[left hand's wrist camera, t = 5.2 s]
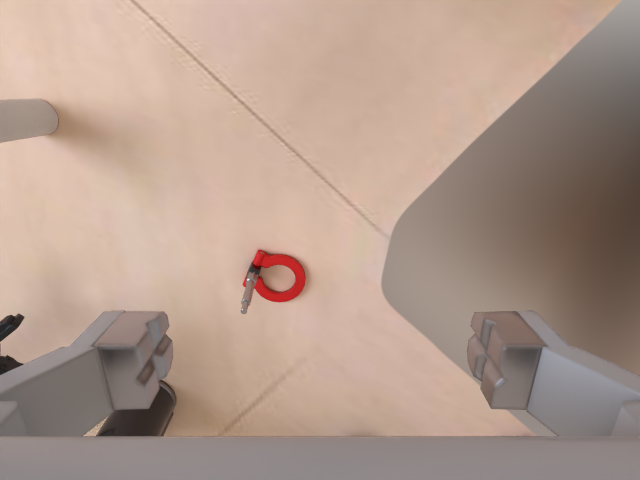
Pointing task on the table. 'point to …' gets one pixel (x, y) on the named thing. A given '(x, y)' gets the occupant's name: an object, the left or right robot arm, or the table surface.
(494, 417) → the table surface
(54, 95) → the table surface
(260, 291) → the tow hook
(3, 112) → the white plastic cylinder
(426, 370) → the table surface
